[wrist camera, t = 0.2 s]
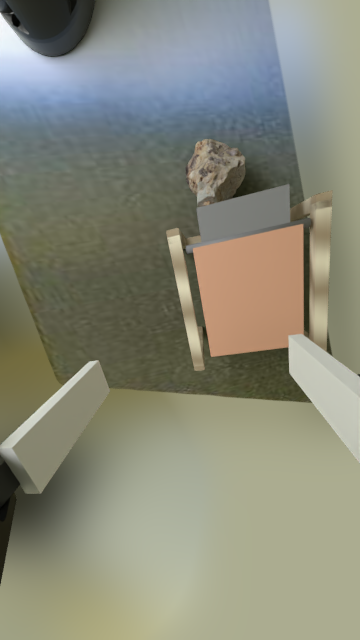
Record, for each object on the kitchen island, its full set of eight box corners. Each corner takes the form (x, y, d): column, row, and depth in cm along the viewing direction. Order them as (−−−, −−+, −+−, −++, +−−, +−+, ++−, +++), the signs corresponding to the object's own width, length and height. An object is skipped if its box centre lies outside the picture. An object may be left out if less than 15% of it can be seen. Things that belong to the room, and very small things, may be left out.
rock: (239, 175, 34) (226, 106, 25) (264, 217, 29) (258, 150, 21) (194, 204, 37) (170, 151, 28) (211, 246, 32) (186, 198, 24)
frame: (179, 241, 36) (166, 230, 22) (276, 218, 33) (332, 190, 19) (196, 333, 41) (194, 370, 28) (281, 320, 38) (326, 355, 25)
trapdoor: (181, 216, 24) (179, 211, 21) (298, 187, 22) (311, 177, 19) (205, 348, 29) (205, 357, 27) (299, 336, 27) (310, 344, 25)
